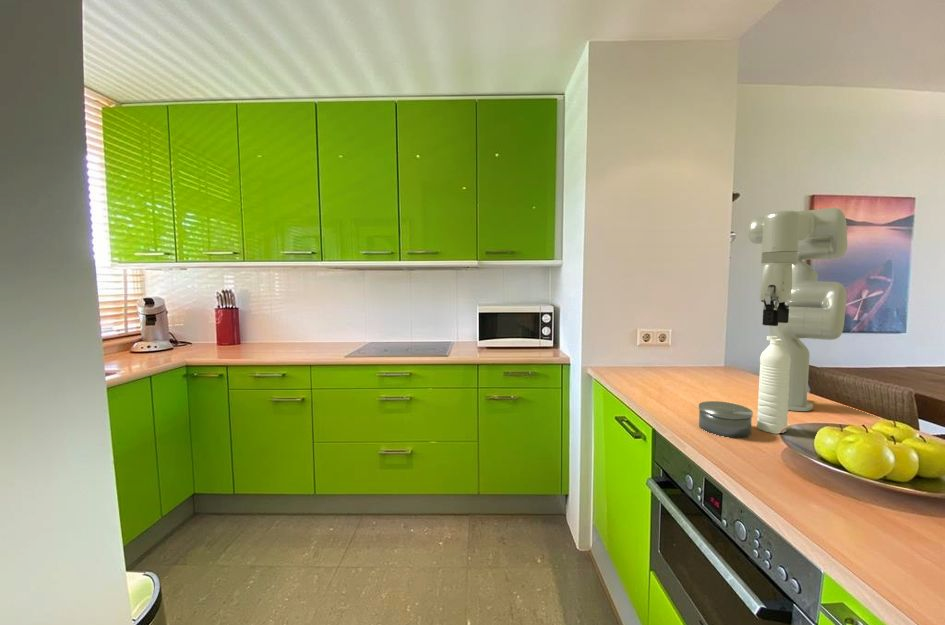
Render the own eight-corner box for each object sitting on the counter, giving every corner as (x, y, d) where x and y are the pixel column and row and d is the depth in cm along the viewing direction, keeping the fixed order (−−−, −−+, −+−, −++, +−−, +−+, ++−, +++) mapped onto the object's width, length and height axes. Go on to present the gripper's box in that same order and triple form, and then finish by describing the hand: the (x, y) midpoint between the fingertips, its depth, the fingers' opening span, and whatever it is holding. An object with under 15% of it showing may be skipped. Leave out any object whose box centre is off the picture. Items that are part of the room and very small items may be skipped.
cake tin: (708, 418, 115) (708, 398, 115) (758, 430, 106) (759, 409, 105) (690, 429, 108) (691, 408, 107) (742, 443, 98) (743, 420, 97)
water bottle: (789, 436, 101) (795, 341, 99) (759, 432, 104) (763, 340, 102) (781, 424, 109) (785, 336, 107) (752, 420, 112) (756, 335, 110)
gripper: (771, 260, 111) (768, 320, 112) (751, 259, 100) (748, 325, 101) (805, 259, 105) (801, 322, 106) (788, 258, 94) (784, 328, 95)
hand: (775, 324), depth 104 cm, fingers open, 9 cm apart
